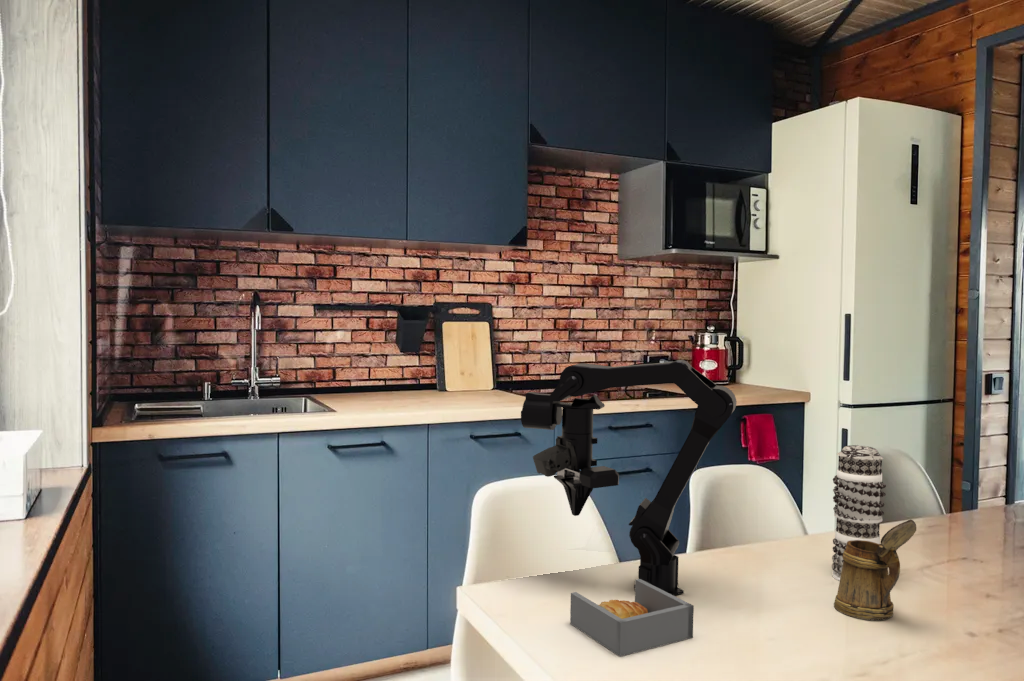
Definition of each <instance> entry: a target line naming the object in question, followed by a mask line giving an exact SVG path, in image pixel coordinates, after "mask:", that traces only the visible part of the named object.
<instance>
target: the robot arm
mask: <svg viewBox="0 0 1024 681" xmlns="http://www.w3.org/2000/svg"><path fill="white" fill-rule="evenodd" d="M662 384H664V385H665V384H675V385H676V386H677V387H678V388H679V389H680V390H681V391H682V392H683V394H685V395H686V396H687V397H688V398H689V399H690V400H691V401H692V402H693V403H695V404H696V405H697V407H696V410H695V413H694V417H693V421H692V423H691V428H690V431H689V433H688V435H687V438H686V439H685V441H684V443H683V444H682V446H681V448H680V450H679V452H678V454H677V456H676V458H675V459H674V462H673V463H672V465H671V466H670V469H669V471H668V473H667V474H666V477H665V478H664V480H663V482H662V484H661V486H660V488H659V490H658V492H657V493H656V495H655V497H654V498H653V500H652V501H650V500H649V498H646V497H645V498H644V499H643V500H642V501H641V503H639V505H638V506H637V510H636V513H635V516H634V517H633V518H632V519H631V520H630V521H629V523H628V526H631V527H630V530H629V534H628V536H629V538H630V542H631V543H632V545H633V547H634V548H636V549H637V551H638V554H639V556H640V557H639V558H640V560H639V565H638V572H637V573H638V576H637V577H638V578H637V579H641V580H643V581H645V582H647V583H649V584H651V585H653V586H655V587H657V588H659V589H661V590H663V591H665V592H667V593H669V594H671V595H673V596H677V595H681V594H685V593H684V592H685V590H684V589H682V588H680V587H679V586H678V585H679V556H678V555H676V552H677V550H678V547H679V546H680V543H681V542H680V540H679V539H678V538H677V537H676V536H675V535H674V534H673V532H671V529H669V528H670V525H671V523H672V519H673V515H674V510H675V507H676V505H677V502H678V500H679V499H680V497H681V495H682V493H683V491H684V489H685V488H686V486H687V484H688V482H689V480H690V478H691V476H692V475H693V473H694V471H695V469H696V468H697V466H698V464H699V462H700V459H701V458H702V456H703V454H704V453H705V451H706V449H707V447H708V445H709V444H710V442H711V440H712V439H713V438H714V437H715V436H716V434H717V433H718V432H719V431H720V429H721V428H722V427H723V426H724V425H725V423H726V422H727V420H728V419H729V418H730V417H731V416H732V415H733V412H734V411H735V409H736V407H737V398H736V395H735V393H734V392H733V390H731V389H730V388H728V386H724V385H717V384H716V383H715V382H713V381H712V380H710V378H708V377H707V376H705V375H704V374H703V373H702V372H700V371H698V370H697V369H695V367H693V366H692V365H691V364H690V363H689V362H688V361H687V360H684V359H679V360H675V361H668V362H658V363H653V362H652V363H643V364H642V363H641V364H633V365H632V364H628V365H618V366H610V365H609V366H608V365H603V364H593V363H585V362H584V363H577V364H572V365H568V366H566V367H565V368H564V369H563V370H562V371H561V373H560V375H559V383H558V384H557V385H556V386H555V388H554V390H552V392H551V393H540V392H535V391H529V392H526V393H525V399H524V401H523V404H522V410H521V411H520V422H521V425H522V428H524V429H534V430H535V429H536V430H547V431H548V430H549V431H554V430H555V429H556V426H557V425H558V426H560V425H561V435H558V436H556V439H555V445H554V446H551V447H548V448H546V449H544V450H542V451H540V452H538V453H536V454H534V455H533V456H532V460H533V463H534V465H535V470H536V473H537V474H539V475H540V474H541V475H543V476H545V477H547V478H549V477H553V478H554V479H555V480H557V481H558V482H559V483H560V484H561V485H562V486H563V489H564V491H565V494H566V497H567V501H568V505H569V508H570V511H571V515H573V516H575V517H576V516H577V517H578V516H580V514H581V513H582V511H583V509H584V507H585V505H586V502H587V500H588V499H589V497H590V495H591V494H592V492H593V490H594V489H599V488H601V489H602V488H607V487H614V486H615V487H616V486H619V484H620V473H619V472H618V470H616V469H614V468H611V467H608V466H605V465H601V466H600V465H599V466H598V460H597V459H594V458H593V448H594V447H593V445H597V444H598V437H595V436H594V410H596V411H597V410H601V409H603V408H605V406H606V405H605V404H604V402H603V401H602V400H600V399H599V398H598V396H597V395H596V394H594V395H592V396H590V398H579V397H582V396H584V395H588V394H593V393H596V392H599V391H604V390H608V389H611V388H622V387H638V386H651V385H662ZM572 397H573V398H574V397H576V398H574V399H573V400H572V402H561V401H564V400H567V399H570V398H572ZM577 397H578V398H577ZM633 588H634V589H635V584H633Z"/></svg>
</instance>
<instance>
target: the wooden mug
mask: <svg viewBox="0 0 1024 681" xmlns="http://www.w3.org/2000/svg"><path fill="white" fill-rule="evenodd" d="M916 532H917V523H916V522H915V521H914V520H913V519H909V520H906V521H903V522H901V523H899V524H897V525H895V526H893V527H892V528H890V529H888V531H887V532H886V533H885V534H884V535H882V537H881V538H880V544H881V545H880V544H877V543H874V542H870V541H862V540H853V541H848V542H847V545H846V550H844V553H843V557H842V558H843V560H844V561H843V567H842V572H841V577H840V581H839V582H838V587H837V588H838V589H837V593H836V595H835V598H834V603H833V607H834V608H835V610H836V611H838V612H839V613H841V614H844V615H846V616H849V617H852V618H855V619H860V620H865V621H883V620H888V619H891V617H893V615H894V603H893V601H891V591H892V590H893V588H894V587H895V586H896V584H897V582H898V580H899V578H900V573H901V562H900V557H899V555H898V549H900V548H901V547H902V546H904V545H905V544H906V543H908V542H909V541H910V540H911V538H912V537H913V536H914V535H915V533H916Z"/></svg>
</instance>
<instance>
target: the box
mask: <svg viewBox="0 0 1024 681" xmlns="http://www.w3.org/2000/svg"><path fill="white" fill-rule="evenodd" d="M634 582H635V583H634V585H635V588H634V602H637V603H639V604H641V605H642V606H644V607H645V608H646V609H647V610H648V613H646V614H642V615H637V616H633V617H629V618H624V619H621V618H619V617H618V616H616V615H614V614H613V613H611V612H609V611H608V610H606V609H604V608H602V607H601V606H599V605H600V604H598V603H595V602H594V601H592V600H591V599H589V598H588V597H586V596H584V595H582V594H580V593H579V592H577V591H573V592H570V608H569V611H570V617H569V619H570V620H569V624H570V625H572V626H573V627H575V628H576V629H577V630H579V631H581V632H582V633H584V634H585V635H587V636H588V637H590V638H591V639H592V640H594V641H595V642H597V643H598V644H600V645H601V646H603V647H604V648H606V649H608V650H609V651H610V652H612V653H614V654H615V655H616V656H619V657H625V656H627V655H631V654H635V653H640V652H642V651H646V650H649V649H654V648H659V647H661V646H662V647H663V646H666V645H670V644H674V643H677V642H680V641H684V640H688V639H689V640H690V639H692V638H694V609H695V608H694V607H695V605H693V604H692V603H689V602H688V601H685V600H683V599H681V598H679V597H677V596H676V595H674V596H673V595H671V594H669V593H667V592H665V591H663V590H661V589H659V588H657V587H655V586H653V585H651V584H649V583H647V582H645V581H643V580H641V579H638V578H637V579H634Z"/></svg>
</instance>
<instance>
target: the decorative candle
mask: <svg viewBox="0 0 1024 681" xmlns="http://www.w3.org/2000/svg"><path fill="white" fill-rule="evenodd" d="M836 455H837V456H838V462H837V466H838V467H837V470H836V475H834V477H833V478H832V481H833V484H834V485H835V486H834V487H833V489H832V492H833V494H834V495H833V497H832V499H833V502H834V503H835V505H834V506H833V511H834V512H833V516H834V517H835V518H836V521H835V522H836V523H835V524H836V525H835V526H836V527H835V530H834V538H833V539H832V544H833V545H834V546H833V547H832V551H833V553H834V554H832V556H831V561H832V562H833V563H832V564H831V568H832V572H831V573H832V574H831V577H833V578H834V580H837V581H839V582H840V577H841V572H842V567H843V561H844V560H843V558H842V557H843V553H844V550H846V545H847V542H848V541H853V540H862V541H870V542H874V543H877V544H880V545H881V534H880V524H881V522H883V516H884V515H885V512H884V511H883V509H881V508H883V507H885V503H884V502H883V501H881V498H883V497H885V496H886V492H884V490H883V489H886V487H887V484H886V483H884V482H883V471H882V469H883V468H882V467H883V459H885V457H884V456H882V455H881V454H880V453H879V451H878V450H877V449H876V448H874V447H873V446H866V445H858V444H857V445H856V444H855V445H853V444H852V445H851V444H850V445H845V446H844V447H843V448H842V449H841V451H839V452H837V453H836Z"/></svg>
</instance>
